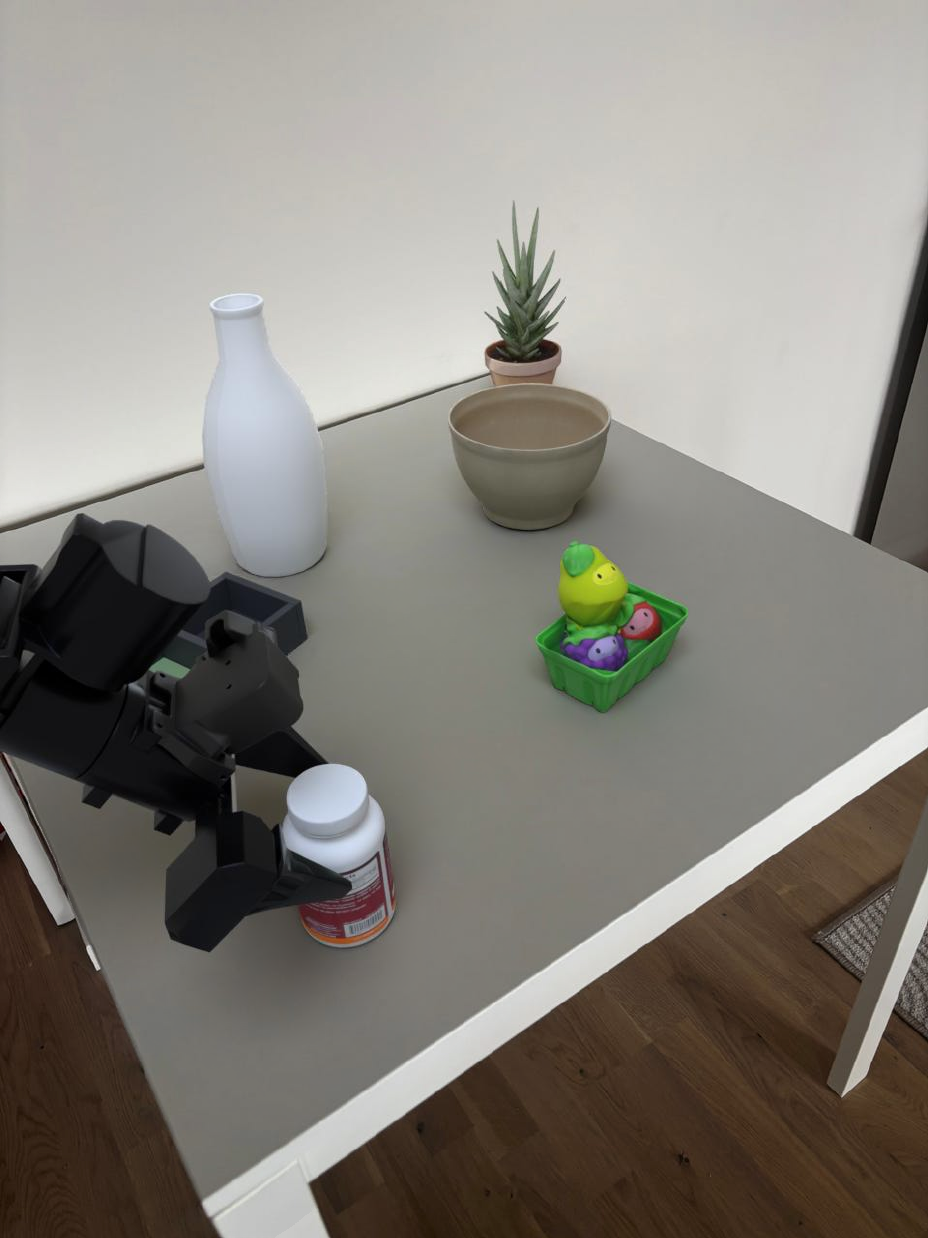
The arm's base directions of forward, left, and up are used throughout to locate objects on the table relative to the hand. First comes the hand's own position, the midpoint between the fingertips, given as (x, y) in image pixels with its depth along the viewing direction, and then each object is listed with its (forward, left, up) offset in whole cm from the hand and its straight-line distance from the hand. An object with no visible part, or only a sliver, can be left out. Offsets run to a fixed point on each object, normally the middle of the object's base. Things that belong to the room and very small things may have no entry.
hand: (338, 829), depth 58 cm
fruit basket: (+30, -3, -8) cm, 31 cm away
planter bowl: (+50, +16, -8) cm, 53 cm away
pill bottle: (0, 0, -8) cm, 8 cm away
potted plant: (+72, +30, -8) cm, 79 cm away
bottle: (+30, +33, -8) cm, 45 cm away
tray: (+12, +26, -8) cm, 30 cm away
